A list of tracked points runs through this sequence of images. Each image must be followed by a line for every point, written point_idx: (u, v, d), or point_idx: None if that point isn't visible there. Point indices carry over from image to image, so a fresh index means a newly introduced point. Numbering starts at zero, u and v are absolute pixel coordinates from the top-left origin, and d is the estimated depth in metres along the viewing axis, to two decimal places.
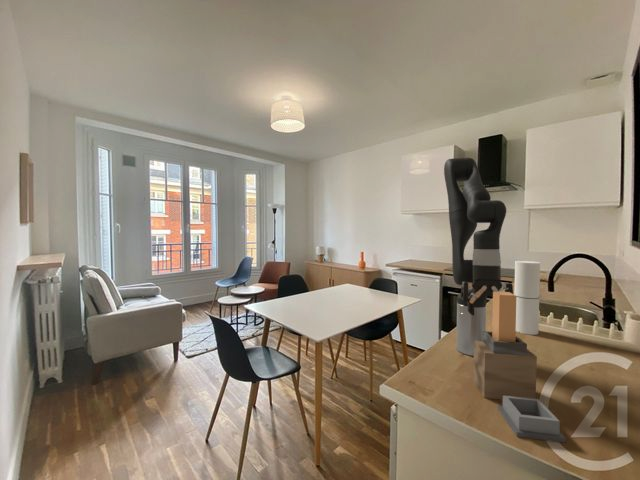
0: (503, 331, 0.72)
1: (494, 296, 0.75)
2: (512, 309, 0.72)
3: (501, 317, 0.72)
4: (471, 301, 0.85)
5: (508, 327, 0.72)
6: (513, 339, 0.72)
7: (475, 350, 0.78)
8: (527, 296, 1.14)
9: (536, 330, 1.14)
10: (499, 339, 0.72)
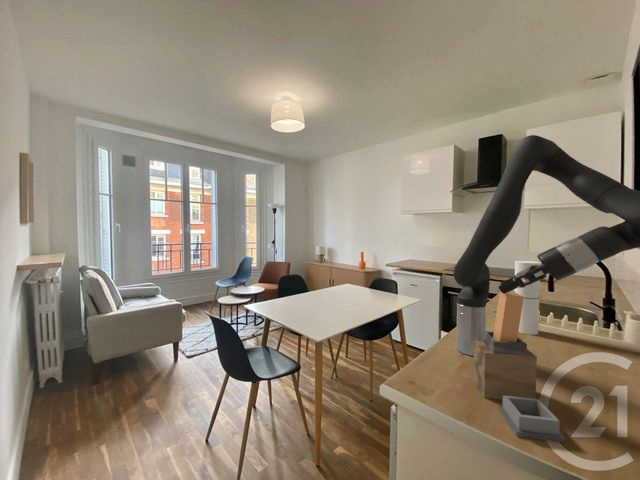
0: (506, 331, 0.72)
1: (500, 295, 0.74)
2: (517, 310, 0.71)
3: (505, 316, 0.72)
4: (520, 287, 0.70)
5: (511, 327, 0.72)
6: (515, 339, 0.72)
7: (475, 350, 0.78)
8: (527, 296, 1.14)
9: (536, 330, 1.14)
10: (501, 338, 0.72)
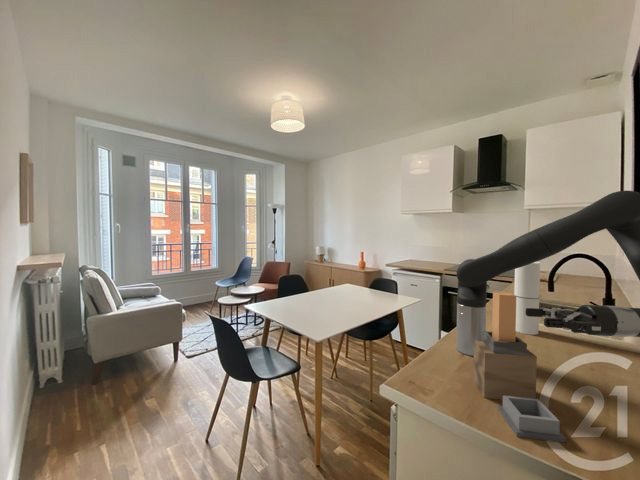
0: (503, 331, 0.72)
1: (494, 296, 0.75)
2: (512, 309, 0.72)
3: (501, 317, 0.72)
4: None
5: (508, 327, 0.72)
6: (513, 339, 0.72)
7: (475, 350, 0.78)
8: (527, 296, 1.14)
9: (536, 330, 1.14)
10: (499, 339, 0.73)
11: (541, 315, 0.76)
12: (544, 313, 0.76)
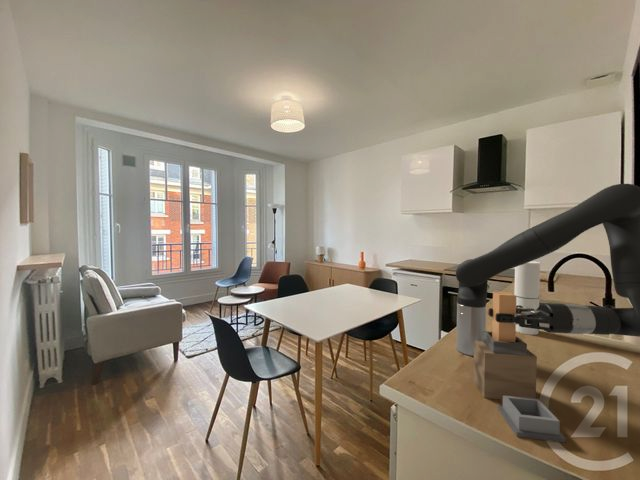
0: (503, 331, 0.72)
1: (494, 296, 0.75)
2: (512, 309, 0.72)
3: None
4: None
5: (508, 327, 0.72)
6: (513, 339, 0.72)
7: (475, 350, 0.78)
8: (527, 296, 1.14)
9: (536, 330, 1.14)
10: (499, 339, 0.73)
11: None
12: None
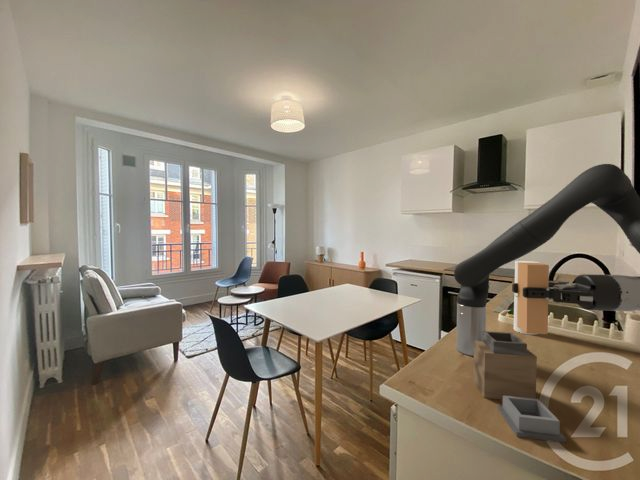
0: (533, 309, 0.59)
1: (520, 268, 0.62)
2: (543, 282, 0.58)
3: None
4: None
5: (539, 304, 0.59)
6: (545, 319, 0.59)
7: (475, 350, 0.78)
8: None
9: None
10: (527, 319, 0.59)
11: None
12: None
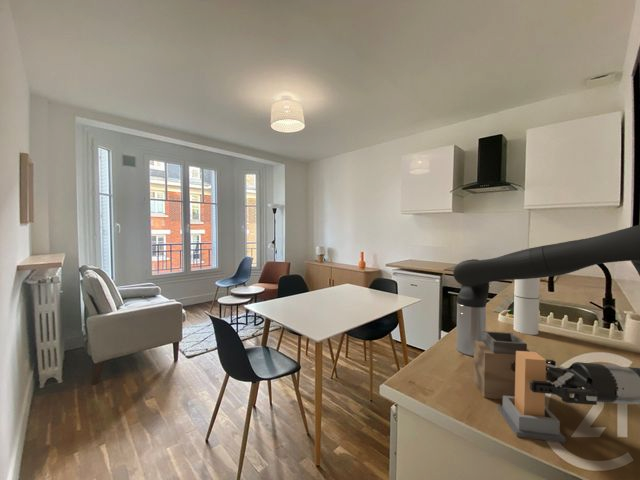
0: (530, 402, 0.60)
1: (517, 357, 0.63)
2: (541, 376, 0.59)
3: (527, 385, 0.60)
4: None
5: (536, 398, 0.60)
6: (542, 412, 0.60)
7: (475, 350, 0.78)
8: (527, 296, 1.14)
9: (536, 330, 1.14)
10: (525, 411, 0.60)
11: None
12: None
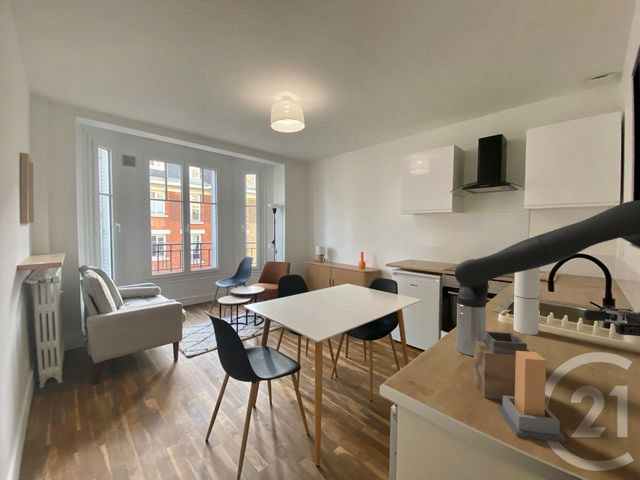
0: (530, 402, 0.60)
1: (518, 357, 0.63)
2: (541, 376, 0.59)
3: (527, 385, 0.60)
4: None
5: (536, 398, 0.60)
6: (542, 412, 0.60)
7: (475, 350, 0.78)
8: (527, 296, 1.14)
9: (536, 330, 1.14)
10: (525, 411, 0.60)
11: (604, 319, 0.62)
12: (608, 316, 0.62)
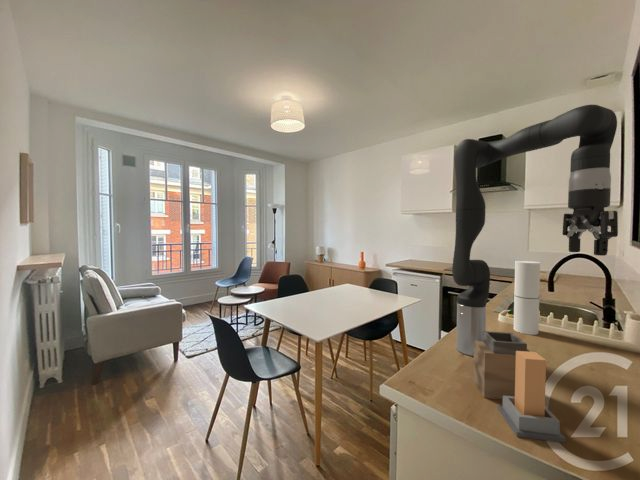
0: (530, 402, 0.60)
1: (518, 357, 0.63)
2: (541, 376, 0.59)
3: (527, 385, 0.60)
4: None
5: (536, 398, 0.60)
6: (542, 412, 0.60)
7: (475, 350, 0.78)
8: (527, 296, 1.14)
9: (536, 330, 1.14)
10: (525, 411, 0.60)
11: (578, 238, 0.72)
12: (575, 235, 0.73)
